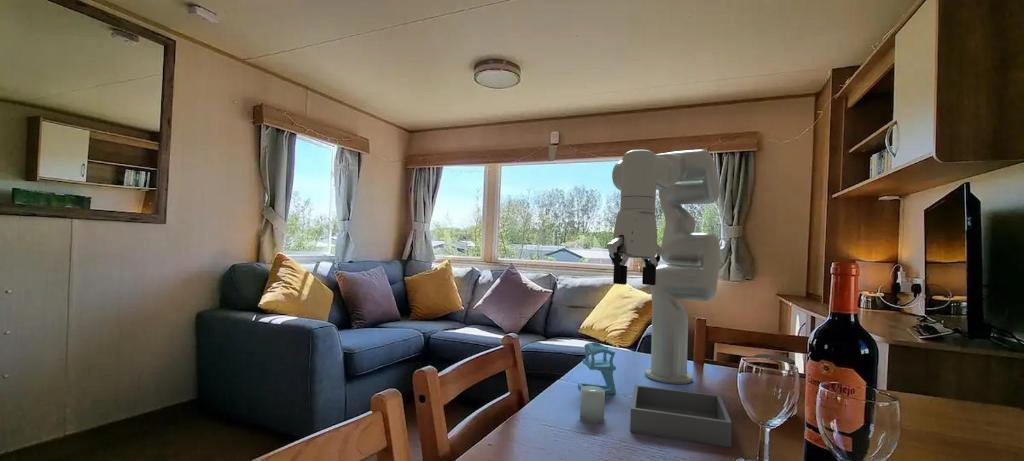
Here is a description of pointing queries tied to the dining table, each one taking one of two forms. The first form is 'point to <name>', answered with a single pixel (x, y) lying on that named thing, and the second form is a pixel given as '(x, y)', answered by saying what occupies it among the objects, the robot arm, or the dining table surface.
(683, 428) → the bin
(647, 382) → the dining table surface
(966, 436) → the dining table surface
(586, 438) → the dining table surface
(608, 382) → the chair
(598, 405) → the pale green capsule
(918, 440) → the dining table surface
